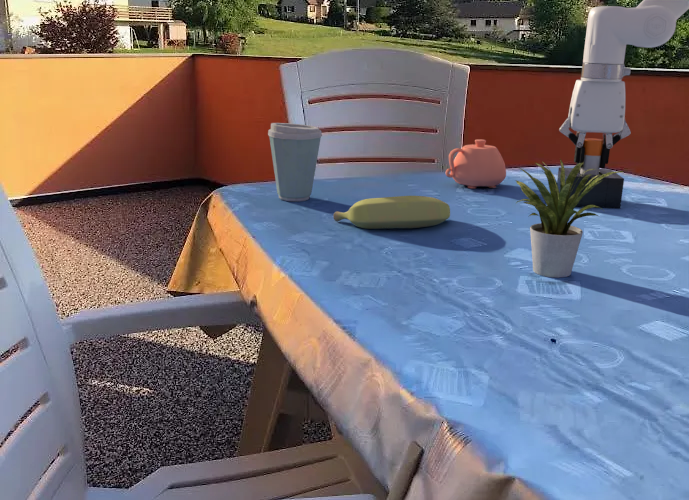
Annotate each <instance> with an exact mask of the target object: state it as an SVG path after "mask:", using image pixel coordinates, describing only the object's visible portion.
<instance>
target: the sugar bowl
mask: <svg viewBox="0 0 689 500" xmlns="http://www.w3.org/2000/svg"><path fill="white" fill-rule="evenodd" d="M486 143H487V140H486V139H480V138H478V139H475V140H474V144H465V145H463V146H462V147H461V148H460V147H456V148H454V149H452V150H450V152H449V153H448V164H449V168H447V169H446V170H445V176H446V177H447V178H449V179H453V180H454V182H455V183H457V184H459V185H464V186H467V188H468V189H473V190H474V189H478V188H477V187H487V188H492V189H495V188H497V186H499V185H501V183H502V182H504V181H505V179H506V177H507V167H506V164H505V161H504V158H503V156H502V154H501V152H500V151H499V149H498V147H496V145H495V146H494V145H489V144H486ZM456 153H457V154H456ZM455 154H456V156H455V158H454V155H455Z"/></svg>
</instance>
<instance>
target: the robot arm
mask: <svg viewBox="0 0 689 500" xmlns="http://www.w3.org/2000/svg"><path fill="white" fill-rule="evenodd" d="M687 11H689V0H642V1H641V2H640V3H639V4H638V5H637V6H635V7H625V6H620V5H619V6H617V5H616V6H615V5H599V6H595V7H592V8H591V9H590V10H589V12H588V16H587V23H586V31H585V41H584V49H583V59H582V66H581V75H580V79H576V80H575V84H574V86H573V90H572V94H571V99H570V104H569V109H568V116H567V117H566V119H565V120H564V122H563V123H562V124H561V126H560V127H559V129H558V131H559V132H560V133H561V134H562V135H564V136H565V137H567V138H568V139H569V141H570V142H572V143H573V145H574V147H575V148H574V157H573V163H575V166H576V165H577V164H579V163H582V162H584V154H585V148H584V139H586V135H587V133H598V134H600V133H601V134H602V140H603V145H602V153H601V161H600V169H606V165H607V164H608V163H609V161H610V159H609V158H610V154H611V153H610V152H611V149H613V147H614V145H616V144H617V143H618V142H619V141H621V140H622V139H625V138H626V137H628V136H630V135H631V129H630V127H629V125H628V123H627V120H626V117H625V116H626V82H625V81H623V79H624V77H625V76H631V67H626V66H625V65H626V64H625V57H626V49H627V45H630V46H631V45H632V46H634V47H636V48H645V49H646V48H649V49H650V48H656V47H657V48H658V47H660V46H662V45H664V44H666V43H667V42H668V41H669V40H670V39H671V38H672V37H673V35H674V34H675V31H676V28H677V20H678V19H679V18H681V17H682V16H683V15H684V14H685V13H686V12H687ZM570 129H572V130H573V131H574V132H576V134H575V133H574V132H572V131H571V130H570ZM582 167H583V165H581V168H582Z"/></svg>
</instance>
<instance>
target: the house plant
mask: <svg viewBox="0 0 689 500" xmlns="http://www.w3.org/2000/svg"><path fill="white" fill-rule="evenodd" d="M559 160H560V161H559V162H560V168H561V175H560V193H559V189H558V185H557V178H556V177H555V175H554V174H553V172H552V170H551V169H550V168H549V166H547V164H546V163H545V162H543V165H542V164H540V163H537V162H535V165H537V166H538V167H539V168H541V169H542V170H543V171H542V170H541V172H543V173H544V175H545V177H546V179H547V182H548V188H549V190H548V188H547V187H546V185H545V184H544V183H543V182H542V181H541V180H539V179H538V178H536V177H533V176H532V175H531V174H530V173H529V172H528V171H526V170H525V169H523V168H521V167H518V166H516V168H517V169H519V170H521V171H522V172H523V173H525V174H526V175H527V177H529V178H530V180H531V181H532V182H533V183H534V184H535V186H536V188H537V189H538V190H539V193H540V194H541V195H540V196H541V197H542V199H543V200H544V202H545V203H544V202H543V200H542V199H541V197H540V196H539V195H538V194H537V193H536V192H535V191H534V190H533V189H532V188H530V187H529V185H527V184H526V183H524V182H523V181H519V180H516V179H515V180H514V181H515V182H516V184H517V185H518V186H519V187H520V189H521V191H522V193H523V194H524V195H525V196H526V197H527V198H523V199H520V200H517V201H516V202H515V204H517V203H520V202H523V203H524V204H526V205H530V206H533V207H535V209H536V211H537V212H538V213H536V212H531V214H529V215H528V217H531V216H536V217H537V216H538V217H539V219H540V222H539V223H535V224H534V223H533V224H532V225H530V227H529V233H530V245H531V248H530V249H531V261H532V272H533V273H534V274H537V275H539V276H543V277H547V278H555V279H556V278H566V277H570V276H571V275H572V270H573V268H574V264H575V262H576V257H577V254H578V251H579V247H580V245H581V241H582V238H583V235H584V231H583V229H581V228H579V227H577V226H575V225H572V224H573V223H574V222H575V221H576V220H578V219H580V218H584V217H592V216H594V217H595V216H596V217H599V218H601V217H600V215H598V214H596V213H594V212H584V211H587V210H590V209H594V208H595V207H598V206H596V205H588V206H585V207H580V209H579V210H575V208H576V207H575V206H576V205H577V204H578V202H579V201H580V200H581V198H582V197H583V196H584V195H585V194H587V193H588V192H589V191H590V190H591V189H592V188H593V187H594V186H595V185H597V184H598V183H600V182H601V181H600V182H598V181H599V180H601V179H602V178H604V177H606V176H608V175H610V174H613V173H617V174H619V173H622V171H620V170H619V171H618V170H617V171H614V172H609V173H606V174H603V175H601V176H599V175H598V176H599V177H597V176H595V177H597V178H596V179H595V180H593V179H594V178H595V177H593V178H592V179H591V180H590V181H589V182H588V183H587V184H586V185H585V186H584V184H585V182H586V181H587V179H588V178H589V176H591V175H592V174H589V175H586V176H585V177H584V178H583V179H582V180H581V182H580V183H579V185H578V187H577V189H576V191H575V194H573V195H572V196H571V197H570V194H571V193H570V191H571V188H572V185H573V182H574V180H575V178H576V176H577V174H578V172H579V171H580V168H581V165H583V164H584V162H582V163H579V164H577V165H576V164H575V165H574V167H572V168H573V169H572V171H571V172H570V174H569V176H568V178H567V180H566V183H565V170H564V168H565V166H564V165H565V164H564V163H563V160H562V159H561V158H559ZM589 170H595V169H589ZM589 170H586V171H589ZM586 171H585V172H586ZM585 172H583V173H585ZM583 173H582V174H583ZM578 179H579V178H578ZM592 180H593V181H592ZM591 181H592V182H591ZM576 182H577V181H576ZM590 182H591V183H590ZM596 182H598V183H596ZM589 183H590V184H589ZM595 183H596V184H595ZM575 184H576V183H575ZM588 184H589V185H588ZM587 185H588V186H587ZM574 186H575V185H574ZM583 186H584V187H583ZM586 186H587V187H586ZM582 187H583V188H582ZM585 187H586V189H585V190H584V191H583V192H582V194H581V195H580V196H579V197H578V195H579V194H580V192H581V191H582V190H583V189H584V188H585ZM573 188H574V187H573ZM572 190H573V189H572ZM571 192H572V191H571ZM569 197H570V198H569ZM598 209H601V210H602V211H603V212H605V210H604V209H603V208H600V207H598Z"/></svg>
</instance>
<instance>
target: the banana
mask: <svg viewBox="0 0 689 500" xmlns="http://www.w3.org/2000/svg"><path fill="white" fill-rule="evenodd" d="M332 216H333V217H332V218H333V220H334V221H335V222H340V221H342V220H349V222H351V224H353V225H354V226H355V227H357V228H361V229H366V230H368V229H369V230H373V229H374V230H375V229H376V230H377V229H379V230H380V229H418V228H426V227H433V226H437V225H439V224H442V223H444V222H445V221H447V220H448V219H450V217H451V207H450V205H449V204H448V203H447V202H445V201H443V200H441V199H438V198H436V197H432V196H423V195H397V196H387V197H386V196H384V197H372V198H371V197H370V198H364V199H361V200H358V201H356V202H355V203H353V205H351V207H349V209H348V210H347V211H345V212H342V211H337V210H336V211H335V212H334V213H333V215H332Z"/></svg>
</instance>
